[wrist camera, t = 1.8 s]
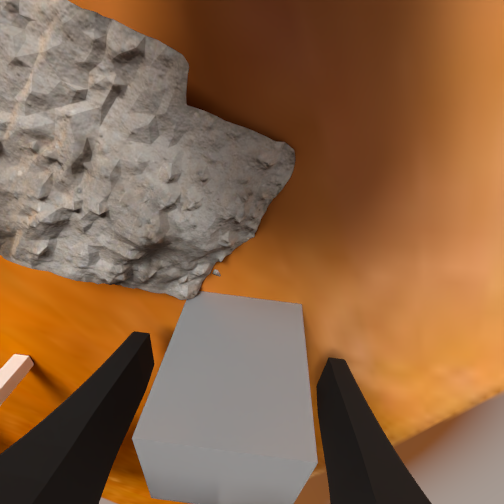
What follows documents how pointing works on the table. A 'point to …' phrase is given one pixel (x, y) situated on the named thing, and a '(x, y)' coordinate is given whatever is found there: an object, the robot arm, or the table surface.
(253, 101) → the table surface
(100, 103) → the stone fragment
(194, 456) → the stone block
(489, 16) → the table surface
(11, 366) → the miniature coffee table
